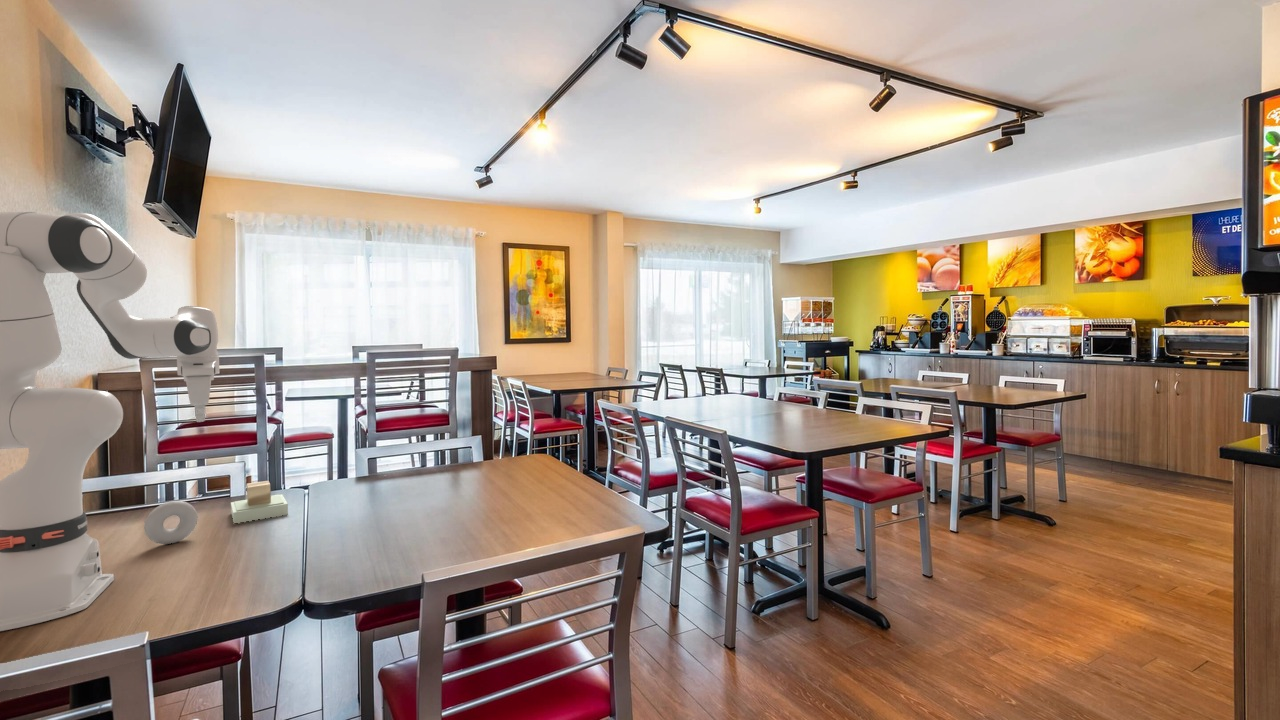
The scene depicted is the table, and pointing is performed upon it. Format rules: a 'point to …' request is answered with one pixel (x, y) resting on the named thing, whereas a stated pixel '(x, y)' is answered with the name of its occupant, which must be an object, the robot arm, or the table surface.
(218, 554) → the table surface
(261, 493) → the maple cube
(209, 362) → the robot arm
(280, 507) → the pedestal
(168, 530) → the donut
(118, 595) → the table surface
